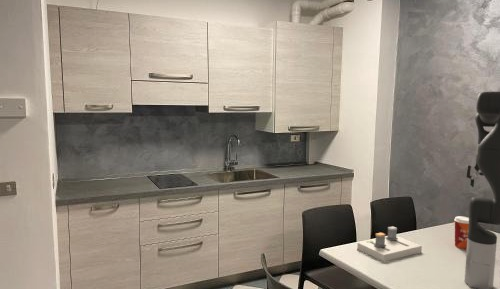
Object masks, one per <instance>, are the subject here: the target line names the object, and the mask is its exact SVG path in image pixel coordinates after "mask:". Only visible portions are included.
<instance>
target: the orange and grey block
mask: <svg viewBox="0 0 500 289" xmlns="http://www.w3.org/2000/svg"><path fill="white" fill-rule="evenodd" d="M385 237H386V233H384V232H378V233H377V232H376V233H375V239H376V243H375V244H374V246H376V247H379V248H380V247H384V246H386V245H385Z"/></svg>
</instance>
